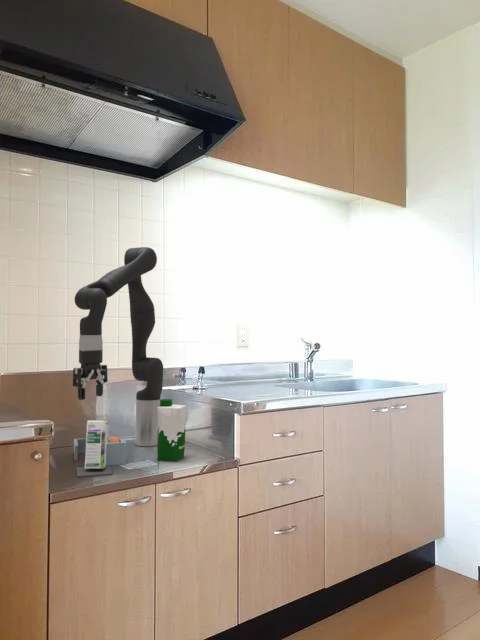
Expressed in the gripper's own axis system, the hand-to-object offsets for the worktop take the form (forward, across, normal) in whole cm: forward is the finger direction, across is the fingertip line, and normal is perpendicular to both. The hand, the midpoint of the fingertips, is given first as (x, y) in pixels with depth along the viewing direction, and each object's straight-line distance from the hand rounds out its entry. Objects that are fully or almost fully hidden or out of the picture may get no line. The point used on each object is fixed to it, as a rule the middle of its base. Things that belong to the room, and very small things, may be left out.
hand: (90, 397), depth 172 cm
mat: (+21, +9, +9) cm, 25 cm away
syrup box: (+20, +8, +9) cm, 24 cm away
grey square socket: (+21, -3, +7) cm, 23 cm away
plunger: (+19, -3, +7) cm, 21 cm away
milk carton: (+22, -16, +21) cm, 34 cm away
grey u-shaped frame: (+21, -7, -4) cm, 23 cm away
